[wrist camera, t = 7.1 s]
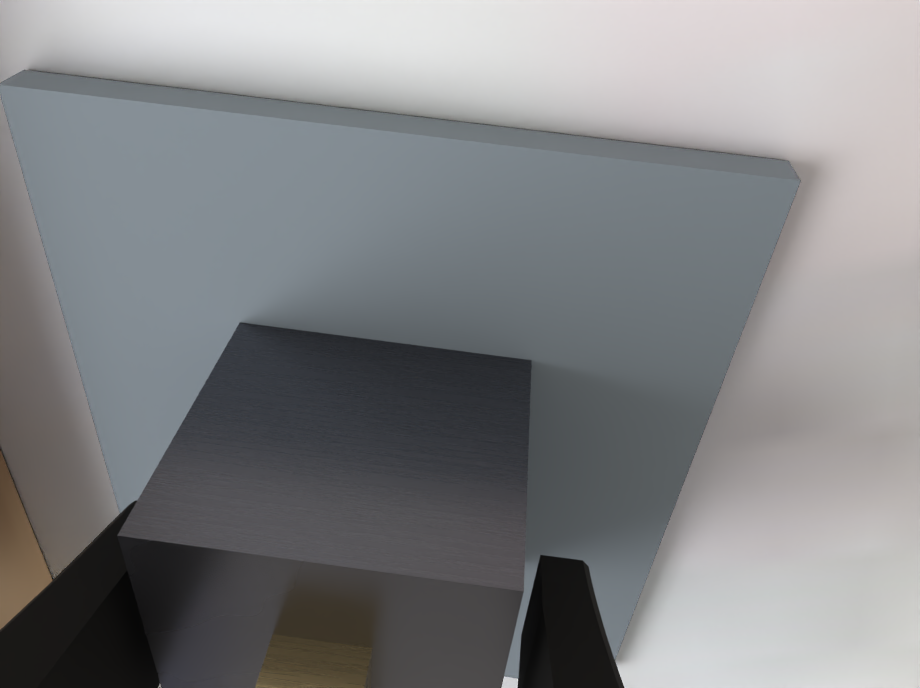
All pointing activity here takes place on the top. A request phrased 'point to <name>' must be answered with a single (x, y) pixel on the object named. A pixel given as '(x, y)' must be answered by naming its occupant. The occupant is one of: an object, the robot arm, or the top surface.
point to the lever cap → (337, 518)
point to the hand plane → (17, 553)
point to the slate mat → (407, 278)
